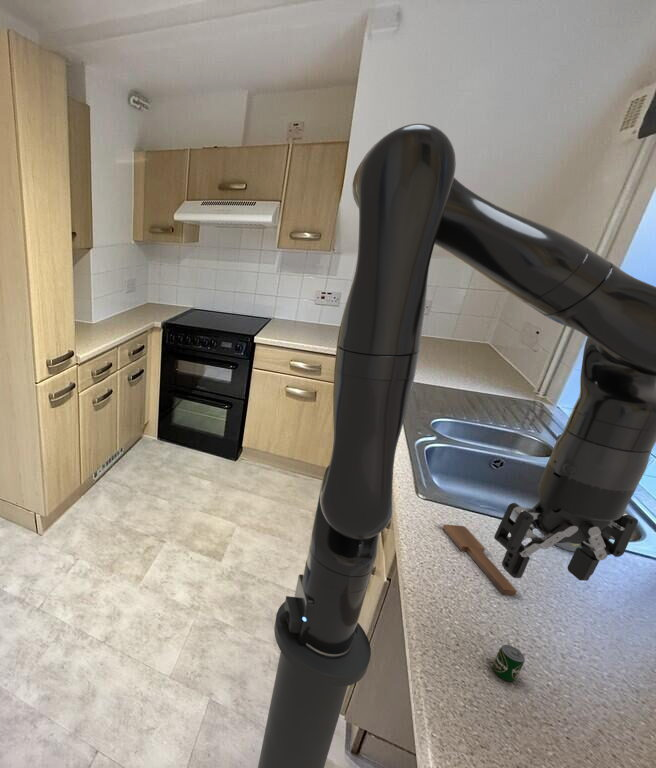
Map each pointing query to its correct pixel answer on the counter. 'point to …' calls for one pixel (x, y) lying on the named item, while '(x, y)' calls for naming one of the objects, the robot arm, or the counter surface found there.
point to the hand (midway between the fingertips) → (543, 574)
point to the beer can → (508, 662)
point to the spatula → (479, 556)
